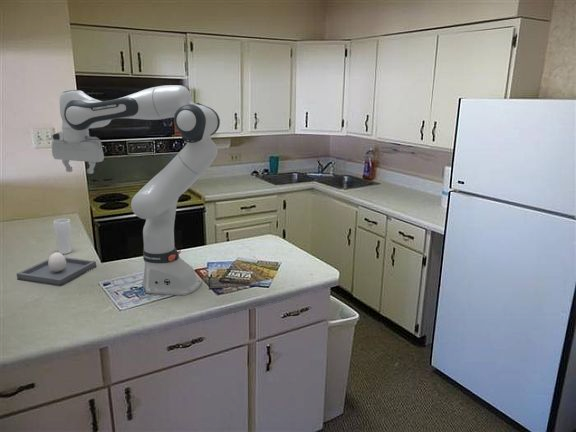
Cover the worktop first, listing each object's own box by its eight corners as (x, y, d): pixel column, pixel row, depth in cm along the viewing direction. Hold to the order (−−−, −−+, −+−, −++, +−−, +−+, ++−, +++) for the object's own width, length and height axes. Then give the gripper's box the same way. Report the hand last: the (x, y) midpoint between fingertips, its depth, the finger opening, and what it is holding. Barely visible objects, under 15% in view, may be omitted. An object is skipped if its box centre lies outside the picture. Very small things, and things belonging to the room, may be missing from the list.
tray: (96, 266, 183) (95, 261, 182) (60, 286, 164) (60, 280, 163) (56, 261, 188) (55, 255, 187) (17, 279, 169) (16, 273, 168)
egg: (62, 266, 180) (60, 248, 178) (70, 270, 176) (67, 252, 174) (46, 271, 175) (43, 252, 173) (54, 275, 171) (51, 256, 169)
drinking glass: (67, 255, 194) (63, 223, 190) (53, 254, 195) (49, 222, 191) (77, 250, 200) (73, 219, 196) (64, 249, 202) (60, 218, 198)
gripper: (105, 136, 162) (109, 173, 166) (59, 133, 167) (63, 169, 171) (94, 137, 156) (98, 175, 160) (46, 134, 161) (51, 171, 165)
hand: (79, 172), depth 166 cm, fingers open, 8 cm apart
